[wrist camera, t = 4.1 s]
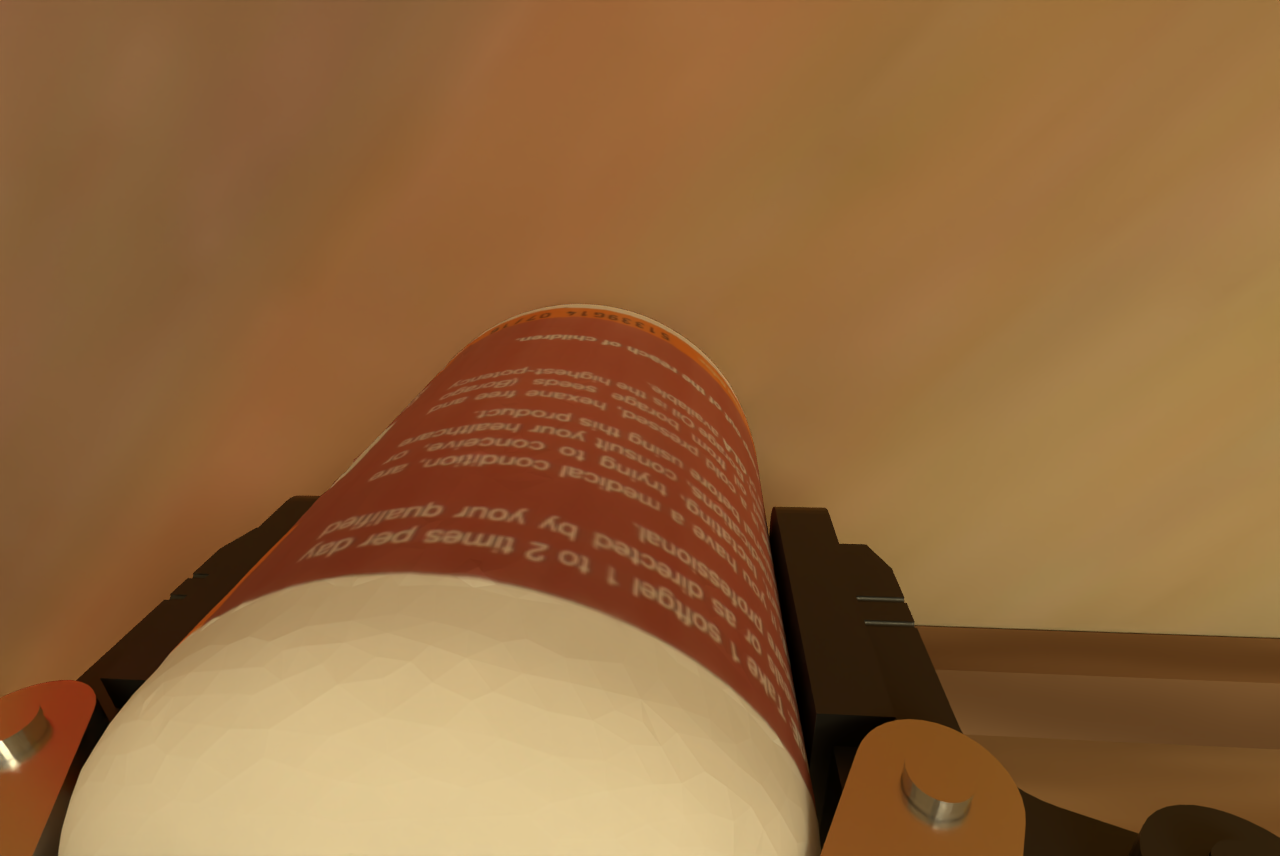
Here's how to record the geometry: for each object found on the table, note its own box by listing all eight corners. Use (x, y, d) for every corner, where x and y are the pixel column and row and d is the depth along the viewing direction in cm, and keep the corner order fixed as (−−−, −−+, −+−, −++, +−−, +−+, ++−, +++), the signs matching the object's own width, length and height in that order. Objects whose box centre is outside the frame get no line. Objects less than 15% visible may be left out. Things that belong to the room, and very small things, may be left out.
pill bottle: (417, 284, 11) (-1552, 1493, 1) (772, 304, 11) (1477, 2078, 1) (449, 569, 14) (-146, 1669, 4) (735, 592, 14) (836, 1850, 4)
